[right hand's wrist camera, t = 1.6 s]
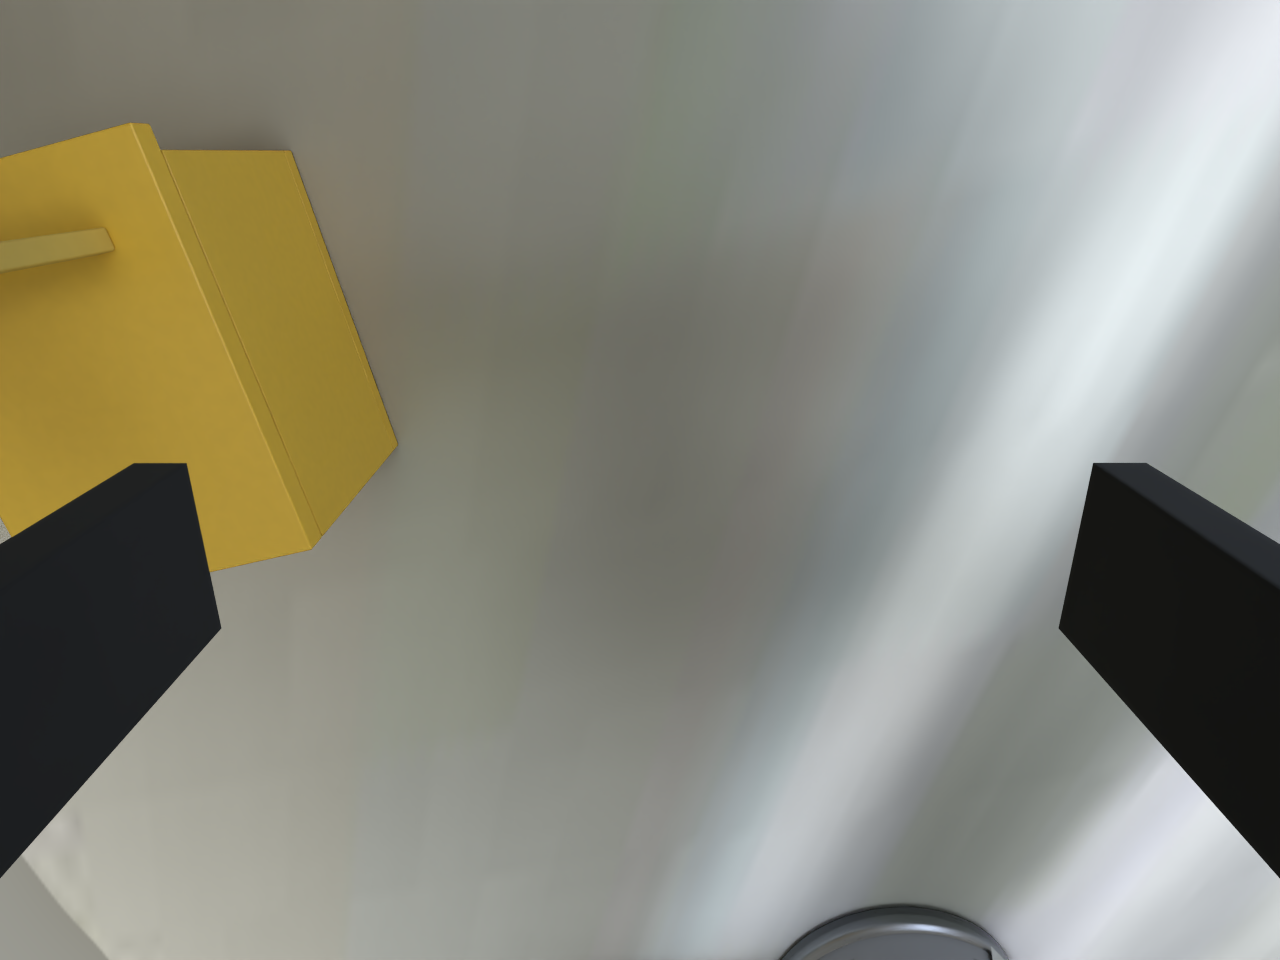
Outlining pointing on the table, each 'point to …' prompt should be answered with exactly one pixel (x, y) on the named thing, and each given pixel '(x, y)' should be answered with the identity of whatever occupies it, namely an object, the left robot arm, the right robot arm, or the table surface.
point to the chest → (288, 317)
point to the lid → (128, 351)
